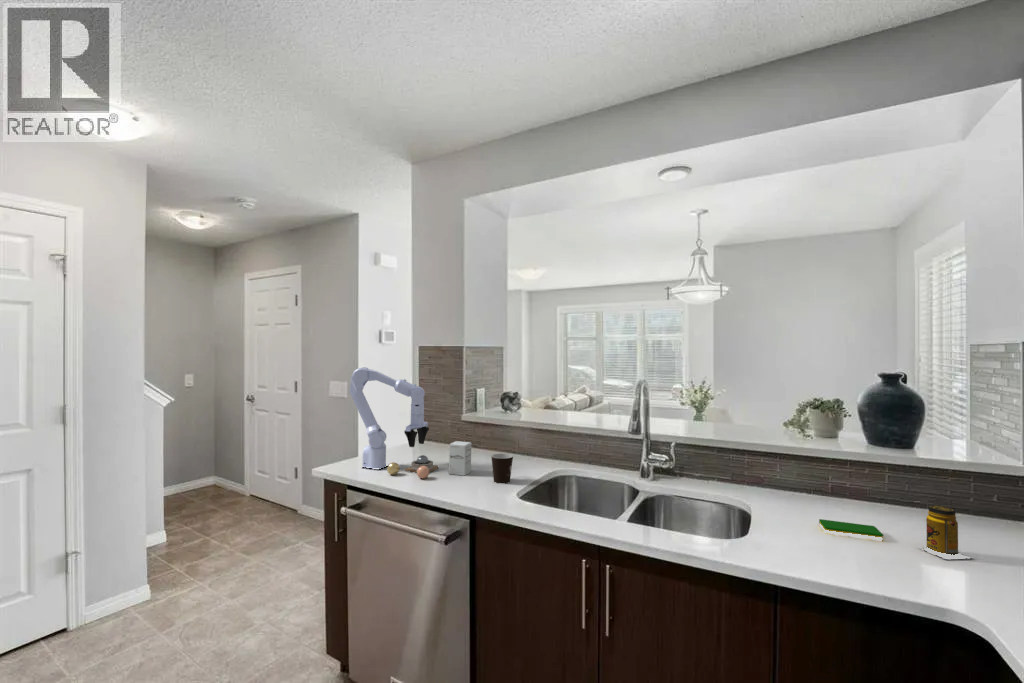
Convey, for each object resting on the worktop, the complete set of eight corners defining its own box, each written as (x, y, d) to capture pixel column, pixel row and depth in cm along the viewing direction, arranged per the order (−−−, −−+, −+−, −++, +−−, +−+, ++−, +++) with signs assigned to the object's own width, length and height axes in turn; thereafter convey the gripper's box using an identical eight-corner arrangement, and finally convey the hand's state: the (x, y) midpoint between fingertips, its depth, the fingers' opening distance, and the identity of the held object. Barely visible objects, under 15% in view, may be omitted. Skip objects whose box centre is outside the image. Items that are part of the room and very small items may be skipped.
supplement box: (448, 474, 188) (448, 443, 188) (455, 470, 195) (456, 440, 196) (464, 476, 186) (465, 445, 186) (471, 471, 193) (471, 441, 193)
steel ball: (413, 467, 193) (415, 455, 193) (420, 465, 198) (421, 453, 198) (424, 468, 191) (425, 456, 192) (430, 467, 196) (431, 455, 196)
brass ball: (384, 475, 185) (384, 463, 185) (391, 472, 190) (391, 460, 190) (394, 476, 183) (395, 464, 183) (401, 473, 188) (402, 461, 188)
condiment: (917, 548, 123) (917, 503, 123) (945, 547, 123) (945, 503, 124) (945, 561, 115) (945, 513, 116) (975, 560, 116) (975, 512, 116)
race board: (405, 471, 192) (405, 463, 192) (418, 465, 201) (418, 458, 201) (426, 474, 188) (426, 466, 188) (438, 468, 198) (438, 460, 198)
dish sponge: (818, 526, 138) (818, 518, 138) (874, 534, 133) (874, 525, 133) (824, 535, 132) (824, 526, 132) (883, 543, 126) (883, 534, 127)
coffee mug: (503, 485, 173) (504, 459, 174) (486, 481, 179) (486, 456, 179) (521, 479, 183) (521, 454, 183) (504, 475, 188) (505, 451, 188)
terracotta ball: (414, 479, 180) (414, 466, 180) (420, 476, 185) (421, 463, 185) (425, 480, 179) (425, 468, 179) (431, 477, 183) (431, 465, 183)
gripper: (416, 417, 192) (415, 449, 192) (433, 412, 206) (433, 443, 205) (401, 416, 195) (401, 447, 194) (420, 411, 208) (419, 441, 208)
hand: (416, 445), depth 200 cm, fingers open, 7 cm apart
